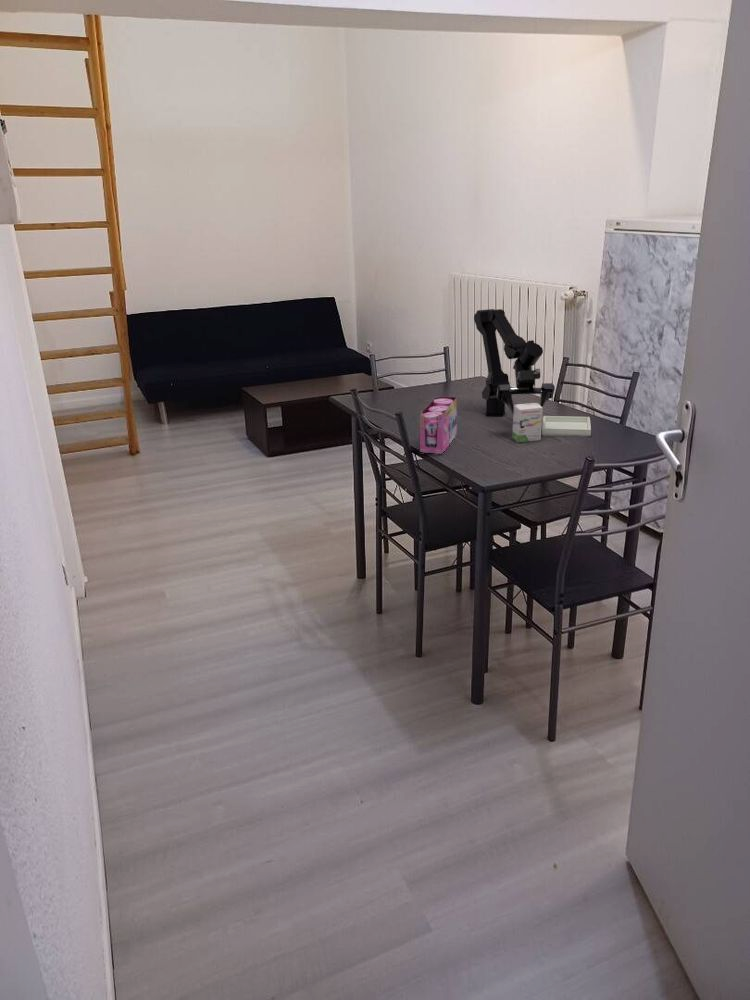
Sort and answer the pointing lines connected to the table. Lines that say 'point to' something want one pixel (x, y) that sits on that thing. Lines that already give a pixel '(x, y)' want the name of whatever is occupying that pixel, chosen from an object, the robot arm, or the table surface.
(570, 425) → the tray
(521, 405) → the ink box
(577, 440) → the table surface
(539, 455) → the table surface
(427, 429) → the gum box
